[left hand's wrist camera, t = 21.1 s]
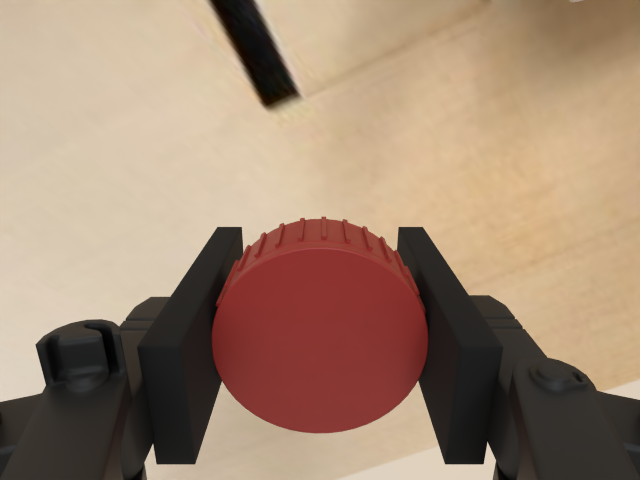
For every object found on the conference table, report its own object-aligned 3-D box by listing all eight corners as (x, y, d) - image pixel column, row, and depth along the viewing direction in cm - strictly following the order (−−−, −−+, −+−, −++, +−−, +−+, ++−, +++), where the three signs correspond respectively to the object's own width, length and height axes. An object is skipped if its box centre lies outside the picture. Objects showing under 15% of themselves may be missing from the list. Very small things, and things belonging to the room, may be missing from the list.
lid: (425, 218, 11) (446, 248, 9) (404, 386, 13) (418, 440, 11) (221, 211, 11) (200, 239, 9) (228, 381, 13) (213, 433, 11)
